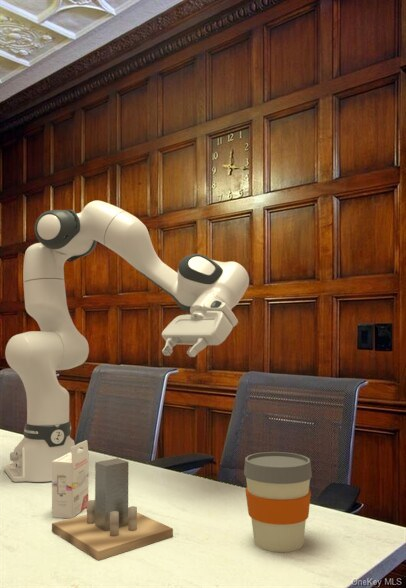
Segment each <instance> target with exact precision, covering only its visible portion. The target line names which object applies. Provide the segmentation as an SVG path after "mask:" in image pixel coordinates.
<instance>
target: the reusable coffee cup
mask: <svg viewBox="0 0 406 588" xmlns="http://www.w3.org/2000/svg"><path fill="white" fill-rule="evenodd" d="M243 469H244V470H243V475H244V476H245V479H246V481H245V482H246V487H245V491H244V492H245V496H246V497H245V498H246V506H247V512H248V516H249V517H250V519H251V526H252V533H253V534H252V535H253V541H254V544H255V545H256V547H258V548H259V549H262V550H265V551H268V552H274V553H288V552H289V553H290V552H294V551H297V550H299V549H301V548H302V547H303V546H304V542H305V541H304V540H305V531H306V523H307V522H306V521H307V520H308V518H309V515H310V505H311V496H312V491H311V489H310V481H311V479H312V477H313V474H312V464H311V459H310V458H309V457H307V456H305V455H302V454H298V453H295V452H294V453H292V452H282V451H281V452H280V451H265V452H256V453H253V454H250V455H247V456H246V457H245V458H244V467H243Z"/></svg>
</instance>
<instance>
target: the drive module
mask: <svg viewBox="0 0 406 588" xmlns="http://www.w3.org/2000/svg"><path fill="white" fill-rule="evenodd" d="M94 465H95V466H94V467H95V469H94V470H95V471H94V475H95V477H94V483H95V484H94V485H95V487H94V488H95V489H94V500H95V526H96V527H98V528H100V529H102V530H104V531H109V530H110V512H112V511H118V512H119V528H120V527H123V526H127V525H128V508H129V461H127V460H124V459H122V458H119V457H117V458H111V459H107V460H106V459H105V460H101V461H95V464H94Z"/></svg>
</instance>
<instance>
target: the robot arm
mask: <svg viewBox="0 0 406 588" xmlns="http://www.w3.org/2000/svg"><path fill="white" fill-rule="evenodd" d="M149 233H150V232H149V231H148V228H147V226H146V225H145V224H144V223H143V222H142V221H141V220H140V219H139V218H138V217H137V216H135V215H134V214H131V213H130V212H128V211H126V210H124V209H122V208H121V207H118V206H116V205H114V204H111V203H108V202H105V201H102V200H93V201H91V202H90V201H89V203H86V205H85V206H84V207H83V209H82V210H81V211H80V212H78V213H77V212H76V211H75V210H74V209H50V210H47V211H44V212H42V213H40V215H39V216H38V217H37V219H36V220H35V223H34V234H35V237H36V239H37V241H38V242H37V243H36V242H35V243H33V244H31V245H30V246H28V247H27V249H26V250H25V253H24V257H23V258H24V259H23V267H22V268H23V269H22V271H23V274H22V277H23V292H24V293H23V294H24V296H23V297H24V308H25V310H26V313H27V314H28V315H29V316H30V317H31V318H33V319H34V320H35V321H36V322H37V324H38V325H37V326H38V327H39V329H40V330H39V331H38V330H36V331H32V330H31V331H25V332H22V333H18V334H15V335H13V336H12V337H11V338H10V339H8V342H7V344H6V346H5V353H4V354H5V355H4V356H5V360H6V362H7V365H8V366H9V367H10V368H11V369H12V370H13V371H14V372H15V373H16V374H17V375H18V376H19V378H20V380H21V381H22V383H23V384H22V385H23V386H24V391H25V394H26V395H25V396H26V423H25V424H24V428H23V438H22V439H21V440H20V441H19V443H18V444H17V445H16V446H15V447H14V449H13V451H12V452H10V454H9V458H10V459H9V460H10V461H11V462H12V463H11V464H7V465H5V466H4V468H3V470H4V472H5V473H6V474H7V476H8V477H9V478H10V479H11V481H12V482H15V483H19V482H21V483H22V482H31V483H32V482H33V483H44V482H45V483H46V482H52V461H54V460H56V459H58V458H60V457H62V456H64V455H66V454H68V453H71V447H73V446H75V445H76V443H75V441H74V439H73V438H71V431H72V425H71V421H70V393H69V391H68V390H67V389H66V388H65V387H64V386H62V385H61V384H60V382H59V380H58V378H57V377H58V376H57V373H56V371H65V370H71V369H73V368H76V367H78V366H82V365H83V364H84V363H85V362H86V361H87V359H88V356H89V353H90V347H89V343H88V340H87V339H86V337H85V336H84V335H83V334H81V332H80V331H79V330H78V329H77V328H76V326H75V324H74V322H73V319H72V317H71V314H70V312H69V311H70V310H69V307H68V303H67V302H68V301H67V294H66V285H65V272H64V267H65V263H66V262H69V263H70V262H71V263H72V262H74V261H77V260H78V259H80V258H83V257H85V256H88V255H90V254H91V253H92V252H93V251H94V250H95V249H96V247H97V245H98V244H97V243H100V244H102V245H103V246H105V247H107V249H110V251H113V252H114V253H115V254H116V255H118V256H120V257H121V258H122V259H124V261H126V262H127V263H129V265H130V266H132V267H133V268H134V269H135V270H136V271H137V272H138V273H139V274H141V275H142V276H143V277H145V278H146V279H147V280H149V281H150V282H152V284H153V285H155V286H157V287H158V288H160V289H161V290H162V291H163V292H165V293H166V294H167V295H169V297H171V298H172V299H173V300H174V302H175V303H176V305H177V306H178V307H179V308H180V309H181V310H182V311H184V312H187V313H184V314H181V315H178V316H176V317H175V318H173V320H172V321H170V322H169V323H168V324H167V326H166V327H165V328H164V329H163V330H162V332H161V337H162V339H163V340H164V341H165V345H164V347H163V349H162V350H161V352H162V354H163V356H167V357H168V356H169V357H170V356H171V355H172V354H173V352H174V350H173V348H174V347H175V346H176V345H190V346H189V348H188V349H187V351H186V354H187V355H188V357H189V358H195V357H196V356H197V355H198V354H199V353H200V352H201V351H203V350H204V349H205V348H207V346H219V345H221V344H223V343H224V342H225V341H226V340H227V337H229V335H230V334H231V332H232V330H233V328H234V327H236V326H237V325H238V323H239V321H238V320H239V319H238V318H237V317H236V315H235V313H234V312H233V311H232V309H233V308H234V307H237V305H239V302H240V300H241V299H242V298H243V297H244V295H245V293H246V291H247V290H248V287H249V285H250V276H249V273H248V271H247V270H246V269H245V267H244V266H243V265H241V264H240V263H238V262H236V261H233V260H232V261H218V260H215V259H211V258H209V256H206V255H204V254H201V253H192V254H191V253H190V254H188V255H186V256H185V257H183V258H182V259H181V260H180V261H179V263H178V265H177V266H178V267H177V271H175V270H174V269H173V268H171V267H170V266H168V265H167V264H166V263H165V262H163V261H162V259H160V257H159V256H158V254H157V253H156V251H155V249H154V246H153V243H152V240H151V236H150V234H149ZM191 345H192V346H191Z"/></svg>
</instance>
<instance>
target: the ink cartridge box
mask: <svg viewBox="0 0 406 588" xmlns="http://www.w3.org/2000/svg"><path fill="white" fill-rule="evenodd" d="M88 445H89V444H88V440H87V439H86V440H84V441H81V442H78V443H77V444H75V446H73V447H71V453H68V454H66V455H64V456H62V457H60V458H58V459H56V460H54V461H52V481H51V518H56V519H57V518H61V519H70V518H74V517H77V515H79V514H80V513H81V512H83V511H84V510H85V509H87V501H89V490H90V489H89V487H90V485H89V483H90V482H89V478H90V477H89V475H90V474H89V472H90V471H89V470H90V468H89V465H90V464H89V463H90V462H89V461H90V459H89V446H88ZM80 449H82V450H81V451H79V452H78V450H80Z"/></svg>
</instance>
